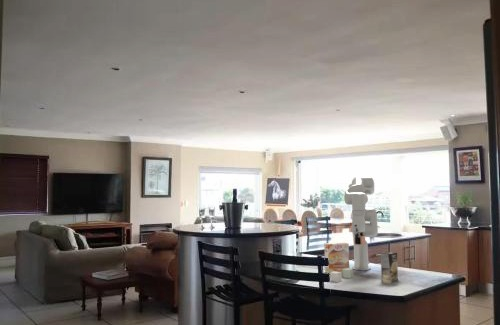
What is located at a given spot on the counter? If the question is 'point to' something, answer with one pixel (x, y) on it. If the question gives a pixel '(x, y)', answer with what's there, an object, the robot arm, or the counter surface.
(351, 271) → the sage block
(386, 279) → the birch cylinder
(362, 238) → the terracotta block
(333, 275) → the off-white block
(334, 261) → the coffeecake box
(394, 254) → the coffee box
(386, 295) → the counter surface
